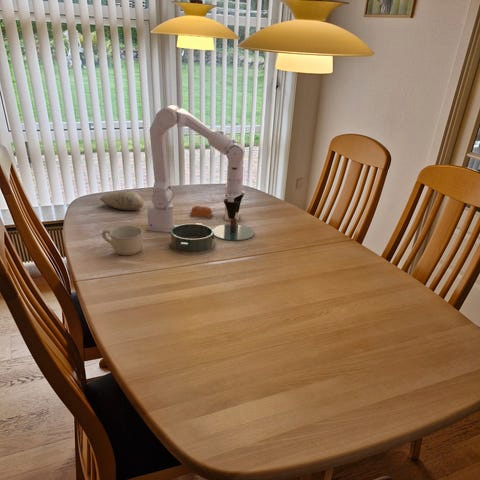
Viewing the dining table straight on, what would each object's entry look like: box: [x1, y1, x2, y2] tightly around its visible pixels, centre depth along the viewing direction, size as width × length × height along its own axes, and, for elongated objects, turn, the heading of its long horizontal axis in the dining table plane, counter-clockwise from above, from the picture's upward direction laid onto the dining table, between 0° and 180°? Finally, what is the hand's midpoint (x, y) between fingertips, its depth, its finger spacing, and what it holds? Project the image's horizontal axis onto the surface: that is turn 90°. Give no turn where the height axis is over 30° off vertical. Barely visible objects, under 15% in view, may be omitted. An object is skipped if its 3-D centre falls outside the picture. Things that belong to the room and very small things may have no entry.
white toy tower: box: [224, 181, 240, 221], centre depth 181 cm, size 6×6×14 cm
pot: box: [169, 222, 215, 254], centre depth 158 cm, size 15×21×6 cm
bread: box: [190, 205, 213, 219], centre depth 185 cm, size 8×5×4 cm, turn 79°
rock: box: [99, 190, 145, 211], centre depth 188 cm, size 8×11×20 cm
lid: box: [212, 218, 255, 242], centre depth 169 cm, size 16×16×6 cm
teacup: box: [101, 224, 144, 256], centre depth 150 cm, size 14×11×8 cm
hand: (233, 215), depth 166 cm, fingers open, 7 cm apart
